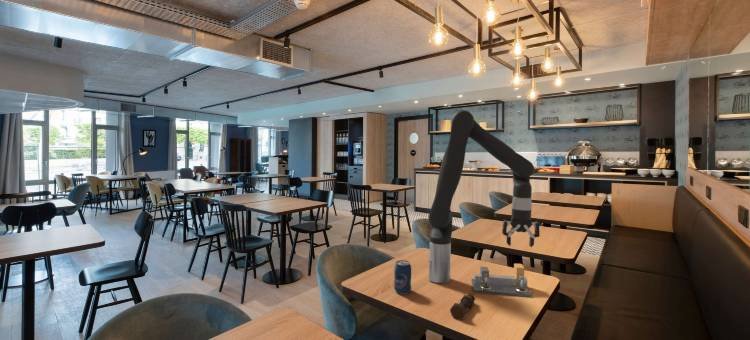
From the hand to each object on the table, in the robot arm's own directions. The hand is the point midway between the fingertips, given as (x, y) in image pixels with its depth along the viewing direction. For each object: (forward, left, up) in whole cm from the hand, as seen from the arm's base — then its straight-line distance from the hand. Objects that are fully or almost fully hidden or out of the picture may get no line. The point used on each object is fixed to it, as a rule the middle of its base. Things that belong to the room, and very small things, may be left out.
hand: (520, 245), depth 142 cm
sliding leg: (0, -1, -16) cm, 16 cm away
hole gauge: (-8, -3, -18) cm, 20 cm away
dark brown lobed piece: (-24, -25, -18) cm, 39 cm away
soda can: (-48, -13, -18) cm, 53 cm away
